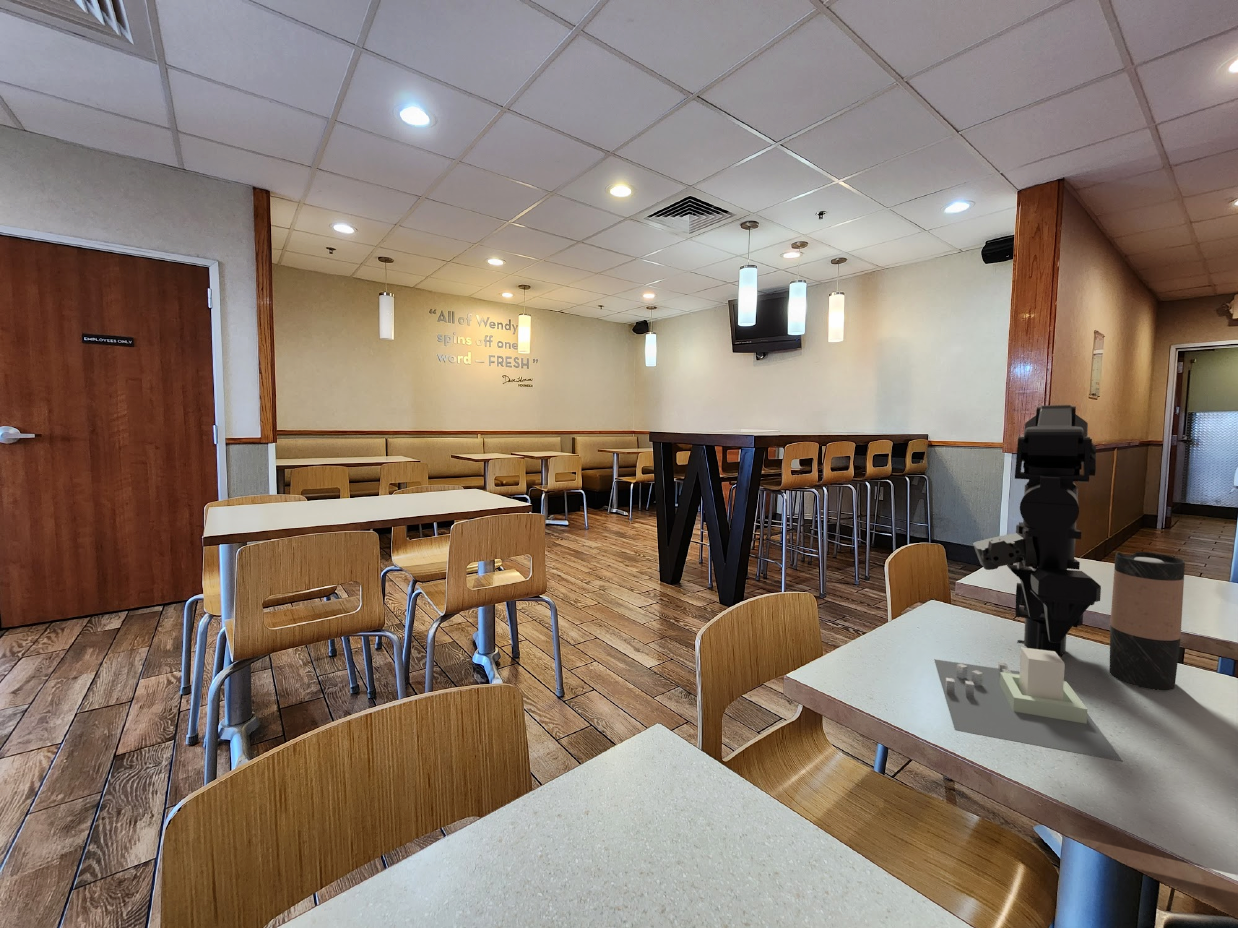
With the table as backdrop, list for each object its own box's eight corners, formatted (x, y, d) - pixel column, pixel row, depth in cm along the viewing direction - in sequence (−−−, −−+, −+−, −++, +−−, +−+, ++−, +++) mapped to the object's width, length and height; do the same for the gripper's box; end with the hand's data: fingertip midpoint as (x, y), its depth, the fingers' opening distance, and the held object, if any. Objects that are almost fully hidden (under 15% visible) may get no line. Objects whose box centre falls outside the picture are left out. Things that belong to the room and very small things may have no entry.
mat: (933, 664, 90) (934, 659, 90) (1060, 683, 83) (1060, 677, 83) (954, 736, 70) (954, 729, 70) (1122, 769, 63) (1123, 761, 63)
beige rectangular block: (1018, 692, 79) (1020, 647, 78) (1052, 698, 77) (1054, 651, 77) (1026, 706, 75) (1028, 658, 75) (1062, 712, 74) (1064, 663, 73)
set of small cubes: (937, 665, 88) (938, 653, 88) (1005, 675, 84) (1006, 663, 84) (946, 693, 79) (946, 680, 79) (1022, 706, 75) (1023, 692, 75)
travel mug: (1174, 703, 77) (1184, 567, 75) (1103, 684, 83) (1111, 557, 81) (1178, 685, 82) (1187, 557, 80) (1110, 668, 88) (1118, 548, 86)
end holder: (999, 684, 81) (1000, 671, 81) (1065, 694, 78) (1066, 681, 78) (1013, 711, 74) (1013, 697, 74) (1086, 723, 71) (1087, 709, 71)
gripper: (967, 506, 86) (964, 601, 87) (994, 528, 69) (989, 646, 70) (1054, 509, 81) (1049, 610, 82) (1106, 535, 64) (1098, 661, 65)
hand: (1043, 629), depth 75 cm, fingers open, 9 cm apart
